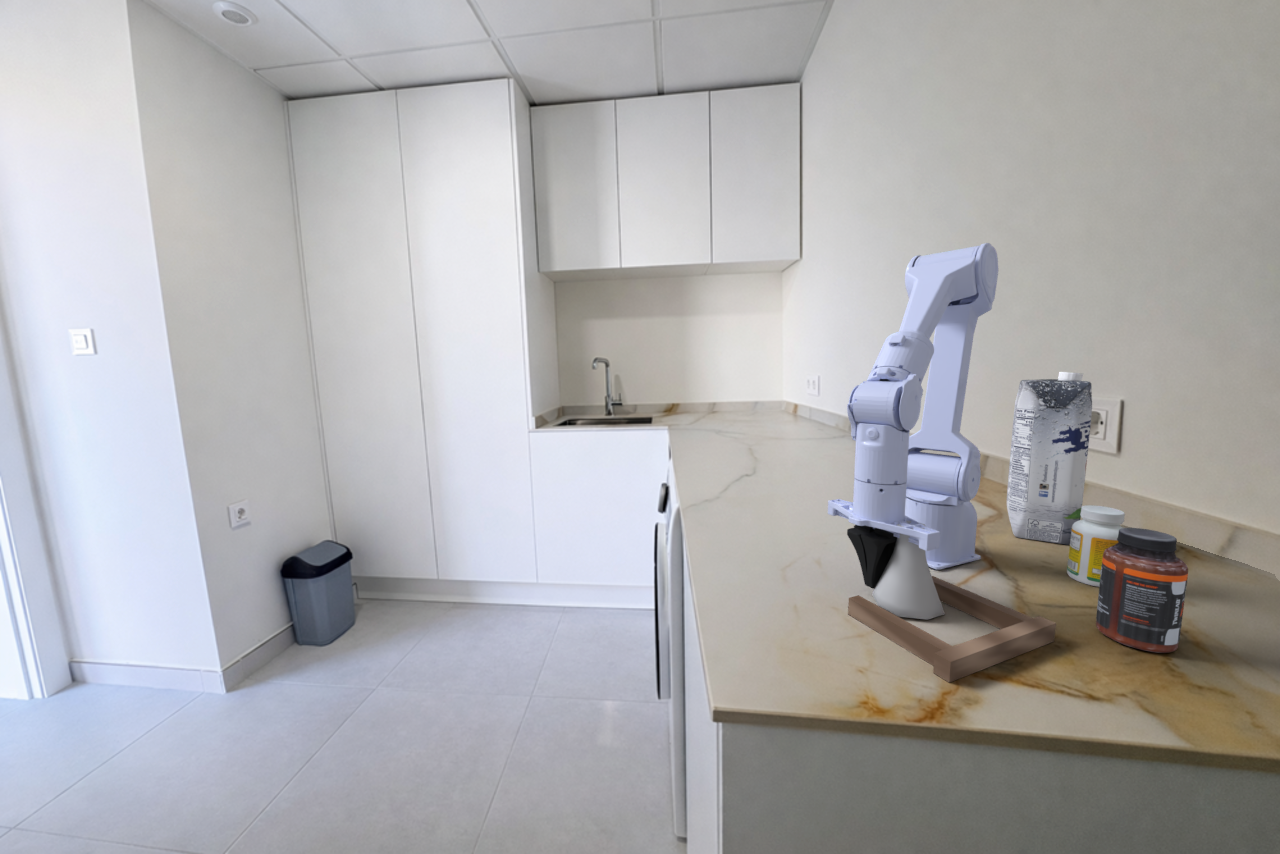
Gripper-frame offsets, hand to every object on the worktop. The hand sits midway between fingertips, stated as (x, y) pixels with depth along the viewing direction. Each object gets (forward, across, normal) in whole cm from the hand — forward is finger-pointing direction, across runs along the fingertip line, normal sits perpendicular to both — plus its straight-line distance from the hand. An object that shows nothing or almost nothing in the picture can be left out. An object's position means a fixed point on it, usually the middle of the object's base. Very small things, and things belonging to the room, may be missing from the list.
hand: (874, 585), depth 59 cm
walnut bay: (+1, +8, 0) cm, 8 cm away
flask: (+1, +4, +1) cm, 4 cm away
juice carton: (+1, -4, +42) cm, 42 cm away
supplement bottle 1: (+1, +9, +29) cm, 30 cm away
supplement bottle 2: (+1, +18, +16) cm, 24 cm away
